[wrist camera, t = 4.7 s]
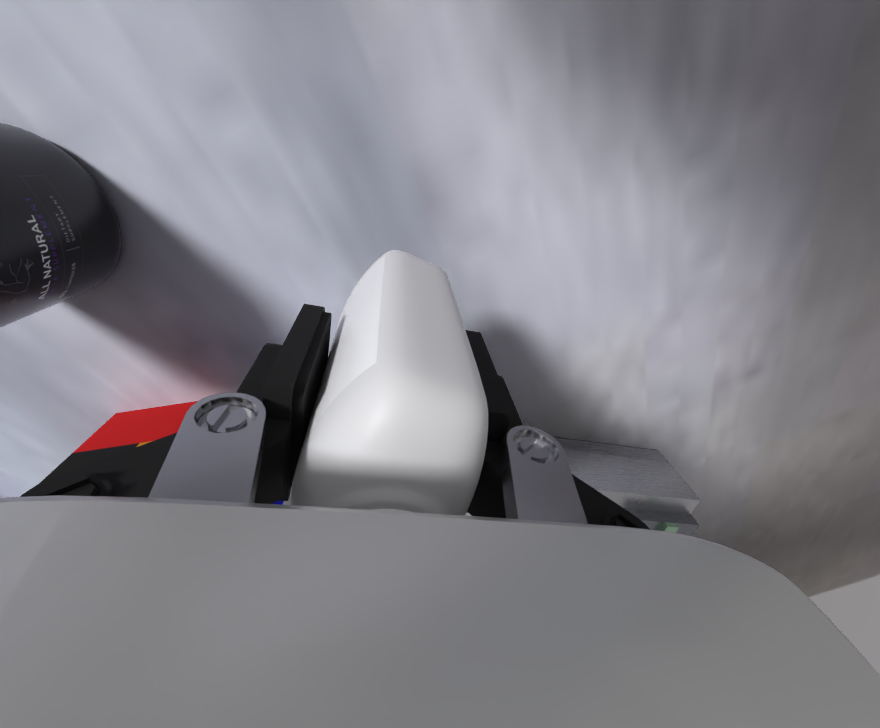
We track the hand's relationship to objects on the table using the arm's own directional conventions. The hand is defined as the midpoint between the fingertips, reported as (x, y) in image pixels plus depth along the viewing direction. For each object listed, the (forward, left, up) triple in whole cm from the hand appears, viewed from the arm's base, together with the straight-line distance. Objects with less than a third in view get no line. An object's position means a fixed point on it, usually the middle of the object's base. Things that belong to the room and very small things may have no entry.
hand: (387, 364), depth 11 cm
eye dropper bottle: (0, 0, -3) cm, 3 cm away
